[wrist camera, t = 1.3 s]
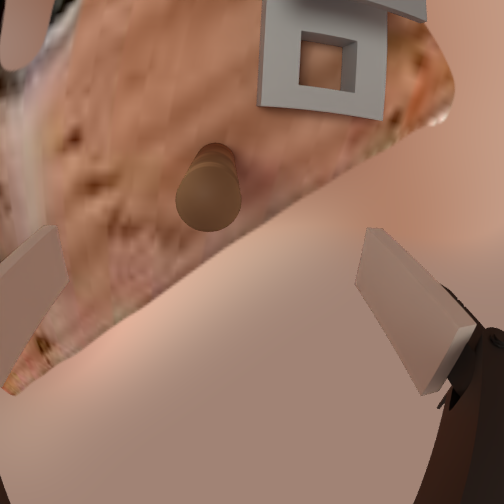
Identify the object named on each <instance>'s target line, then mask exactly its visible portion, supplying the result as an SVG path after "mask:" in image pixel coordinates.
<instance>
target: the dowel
mask: <svg viewBox="0 0 504 504" xmlns="http://www.w3.org/2000/svg"><path fill="white" fill-rule="evenodd" d="M176 208H177V211H178V213H179V215H180V217H181V218H182V220H183V221H184V222H185V223H186V224H187V225H189V226H190V227H192V228H194V229H196V230H199V231H204V232H213V231H218V230H221V229H223V228H225V227H227V226H228V225H230V224H231V223H232V222H233V221H234V220H235V218H236V217H237V215H238V213H239V211H240V208H241V193H240V188H239V182H238V177H237V172H236V166H235V161H234V156H233V154H232V152H231V150H230V149H229V148H228V147H226V146H225V145H223V144H220V143H211V144H208V145H205V146H204V147H203V148H201V150H200V151H199V152H198V154H197V156H196V157H195V159H194V161H193V162H192V164H191V166H190V168H189V169H188V171H187V173H186V175H185V176H184V178H183V180H182V182H181V184H180V185H179V188H178V190H177V193H176Z"/></svg>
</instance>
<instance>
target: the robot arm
mask: <svg viewBox="0 0 504 504" xmlns="http://www.w3.org/2000/svg"><path fill="white" fill-rule="evenodd" d="M68 282H69V277H68V273H67V269H66V265H65V261H64V256H63V252H62V247H61V242H60V238H59V232H58V227H57V225H44V226H42V227H41V228H40V229H39V230H38V231H36V232H35V233H34V234H33V235H32V236H30V237H29V238H28V239H27V240H26V241H25V242H23V243H22V244H21V245H20V246H19V247H18V248H17V249H15V250H14V251H13V252H12V253H11V254H10V255H9V256H8V257H7V258H6V259H4V260H3V261H2V262H1V263H0V387H2V386H3V384H4V383H5V381H6V379H7V377H8V375H9V373H10V372H11V370H12V368H13V366H14V365H15V363H16V361H17V359H18V358H19V356H20V354H21V353H22V351H23V349H24V348H25V346H26V344H27V343H28V341H29V340H30V338H31V336H32V335H33V333H34V332H35V330H36V329H37V327H38V325H39V324H40V322H41V321H42V319H43V318H44V316H45V315H46V313H47V312H48V310H49V309H50V308H51V306H52V305H53V303H54V302H55V300H56V299H57V297H58V296H59V295H60V293H61V292H62V290H63V289H64V288H65V286H66V285H67V284H68ZM355 285H356V287H357V288H358V290H359V292H360V293H361V295H362V296H363V298H364V300H365V301H366V303H367V304H368V306H369V307H370V309H371V311H372V312H373V314H374V316H375V317H376V319H377V320H378V322H379V324H380V325H381V327H382V329H383V330H384V332H385V334H386V336H387V337H388V339H389V341H390V342H391V344H392V345H393V347H394V349H395V351H396V352H397V354H398V356H399V358H400V359H401V361H402V363H403V365H404V366H405V368H406V370H407V372H408V374H409V375H410V377H411V379H412V381H413V383H414V384H415V386H416V388H417V390H418V392H419V394H420V395H421V396H423V395H427V394H430V393H434V392H438V391H439V390H440V389H441V387H442V385H443V384H444V382H445V381H446V379H447V378H448V380H449V381H450V383H451V385H452V386H451V387H450V389H449V390H448V392H447V393H446V394H445V396H444V397H443V399H442V400H441V402H440V403H439V405H438V407H437V408H438V409H440V407H441V406H442V405H443V404H444V403H445V405H444V410H443V414H442V418H441V422H440V426H439V430H438V434H437V438H436V441H435V444H434V448H433V451H432V455H431V457H430V461H429V464H428V466H427V469H426V472H425V475H424V478H423V481H422V484H421V486H420V489H419V491H418V494H417V496H416V499H415V501H414V503H413V504H504V331H502V330H500V329H498V328H493V327H490V328H486V329H485V328H484V327H483V326H482V325H481V323H480V322H479V321H478V320H477V319H476V318H475V317H474V316H473V315H472V313H471V312H470V311H469V310H468V309H467V308H466V307H464V305H463V304H462V303H461V301H460V300H457V297H456V296H455V295H454V294H453V293H452V292H451V291H450V290H449V289H447V288H446V287H444V286H443V285H441V284H440V283H439V282H438V281H437V280H435V278H434V277H433V276H432V275H431V274H430V273H429V272H428V271H427V270H426V269H425V268H424V267H423V266H422V265H421V264H420V263H419V262H417V260H415V259H414V258H413V257H412V256H411V255H410V254H409V253H408V252H407V251H406V250H405V249H404V248H403V247H402V246H401V245H400V244H399V243H398V242H396V240H394V239H393V238H392V237H391V236H390V235H389V234H388V233H387V232H386V231H385V230H384V229H382V228H367V230H366V235H365V240H364V245H363V250H362V254H361V259H360V263H359V267H358V272H357V276H356V281H355ZM0 504H10V501H9V499H8V496H7V493H6V491H5V488H4V485H3V482H2V479H1V477H0Z"/></svg>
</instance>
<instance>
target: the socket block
mask: <svg viewBox="0 0 504 504" xmlns="http://www.w3.org/2000/svg"><path fill="white" fill-rule="evenodd" d="M387 11H388V12H391V13H394V14H397V15H399V16H402V17H405V18H408V19H410V20H413V21H416V22H418V23H423V22H427V13H426V0H262V14H261V32H260V50H259V69H258V88H257V106H264V107H278V108H291V109H301V110H311V111H319V112H327V113H335V114H342V115H348V116H355V117H361V118H367V119H373V120H380V121H383V111H384V99H385V84H386V65H387ZM301 40H303V41H310V42H316V43H323V44H328V45H334V46H339V47H343V52H342V73H341V89H340V91H339V90H333V89H326V88H319V87H311V86H303V85H299V68H300V48H301Z"/></svg>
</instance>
